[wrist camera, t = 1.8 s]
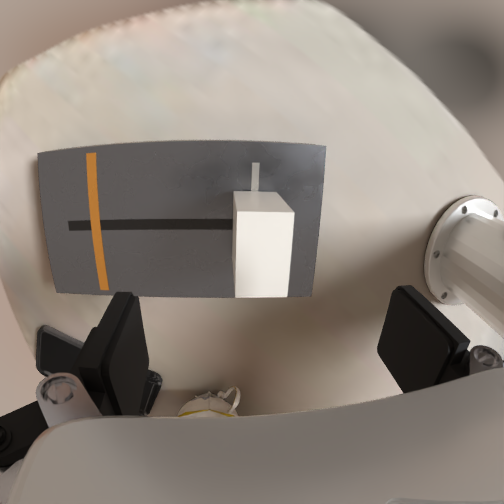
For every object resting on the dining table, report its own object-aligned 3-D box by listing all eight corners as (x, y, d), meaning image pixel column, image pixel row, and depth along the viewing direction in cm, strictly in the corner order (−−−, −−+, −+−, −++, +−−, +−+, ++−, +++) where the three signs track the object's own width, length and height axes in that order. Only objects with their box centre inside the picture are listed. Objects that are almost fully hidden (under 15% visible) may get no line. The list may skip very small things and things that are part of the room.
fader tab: (276, 191, 22) (294, 212, 17) (272, 258, 24) (287, 297, 18) (233, 191, 22) (237, 211, 16) (232, 258, 24) (235, 297, 18)
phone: (146, 418, 33) (35, 371, 29) (148, 412, 34) (39, 365, 31) (164, 379, 31) (37, 324, 27) (165, 372, 32) (42, 319, 28)
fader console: (314, 144, 24) (326, 146, 21) (303, 280, 29) (311, 296, 26) (55, 149, 22) (37, 153, 19) (69, 278, 26) (56, 292, 24)
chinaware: (165, 356, 33) (119, 484, 17) (315, 375, 33) (340, 506, 17) (172, 474, 42) (155, 555, 27) (270, 486, 43) (271, 568, 27)
